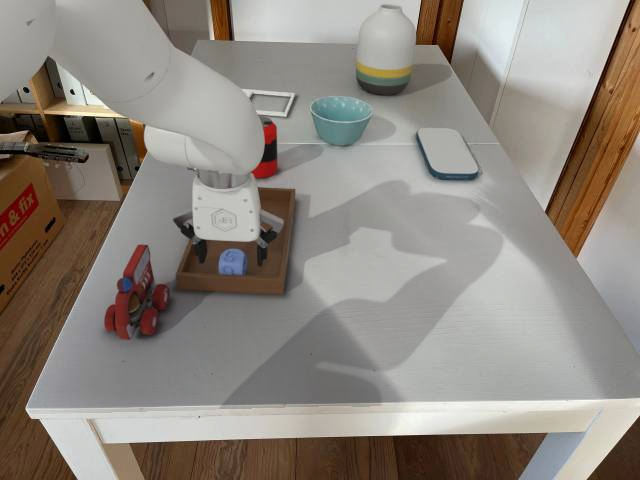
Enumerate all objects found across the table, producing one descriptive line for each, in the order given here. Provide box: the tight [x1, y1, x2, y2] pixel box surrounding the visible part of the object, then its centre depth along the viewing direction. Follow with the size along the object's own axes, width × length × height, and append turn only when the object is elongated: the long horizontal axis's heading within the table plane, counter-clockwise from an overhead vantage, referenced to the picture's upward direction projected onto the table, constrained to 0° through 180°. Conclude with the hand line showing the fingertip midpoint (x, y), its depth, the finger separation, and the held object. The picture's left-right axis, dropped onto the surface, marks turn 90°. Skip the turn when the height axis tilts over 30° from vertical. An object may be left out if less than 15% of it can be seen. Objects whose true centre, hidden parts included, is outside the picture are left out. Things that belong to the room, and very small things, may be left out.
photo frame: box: [241, 88, 296, 118], centre depth 142 cm, size 15×1×18 cm
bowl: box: [309, 95, 374, 147], centre depth 125 cm, size 16×16×8 cm
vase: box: [355, 3, 417, 96], centre depth 148 cm, size 17×17×24 cm
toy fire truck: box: [103, 244, 170, 341], centre depth 75 cm, size 7×12×10 cm, turn 175°
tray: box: [175, 186, 296, 296], centre depth 93 cm, size 28×18×3 cm, turn 178°
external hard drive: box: [415, 127, 480, 181], centre depth 122 cm, size 24×12×2 cm, turn 1°
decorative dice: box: [219, 249, 247, 275], centre depth 84 cm, size 4×4×4 cm
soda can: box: [250, 115, 278, 179], centre depth 110 cm, size 8×8×12 cm
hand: (232, 259), depth 83 cm, fingers open, 9 cm apart
